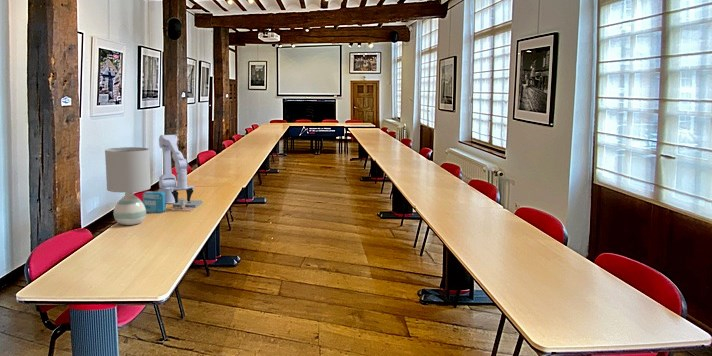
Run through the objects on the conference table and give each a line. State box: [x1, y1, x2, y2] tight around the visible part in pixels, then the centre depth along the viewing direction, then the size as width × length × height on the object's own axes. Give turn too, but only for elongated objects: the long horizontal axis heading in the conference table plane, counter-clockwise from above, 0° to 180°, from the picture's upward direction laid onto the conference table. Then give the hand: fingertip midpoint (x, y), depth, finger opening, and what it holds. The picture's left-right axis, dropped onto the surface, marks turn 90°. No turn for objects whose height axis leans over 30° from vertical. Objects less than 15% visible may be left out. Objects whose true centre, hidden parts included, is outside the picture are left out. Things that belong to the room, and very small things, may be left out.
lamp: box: [104, 146, 151, 226], centre depth 291 cm, size 22×22×40 cm
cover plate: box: [172, 199, 203, 209], centre depth 341 cm, size 14×14×2 cm
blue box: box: [142, 190, 167, 214], centre depth 321 cm, size 12×4×12 cm, turn 88°
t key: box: [178, 197, 187, 209], centre depth 329 cm, size 7×3×6 cm, turn 44°
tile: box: [170, 207, 196, 212], centre depth 329 cm, size 12×8×1 cm, turn 88°
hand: (182, 201), depth 328 cm, fingers open, 7 cm apart
